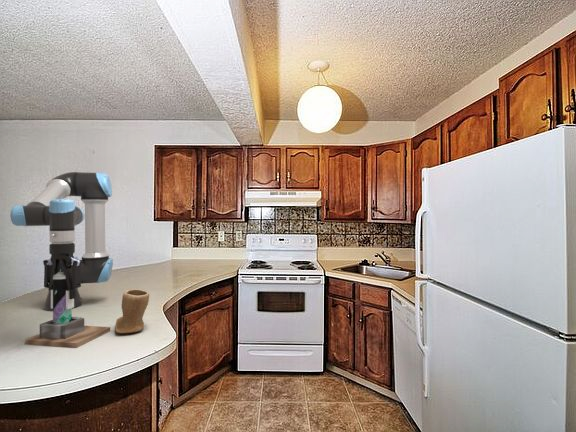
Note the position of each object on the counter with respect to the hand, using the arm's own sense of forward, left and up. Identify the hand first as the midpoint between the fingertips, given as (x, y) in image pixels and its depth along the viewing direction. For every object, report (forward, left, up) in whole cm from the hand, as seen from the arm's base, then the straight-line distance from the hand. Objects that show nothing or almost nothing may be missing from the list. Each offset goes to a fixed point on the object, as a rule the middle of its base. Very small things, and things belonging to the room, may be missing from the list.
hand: (62, 307), depth 118 cm
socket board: (+2, +1, -11) cm, 11 cm away
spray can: (0, 0, -6) cm, 6 cm away
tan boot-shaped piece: (+19, +13, -11) cm, 25 cm away
